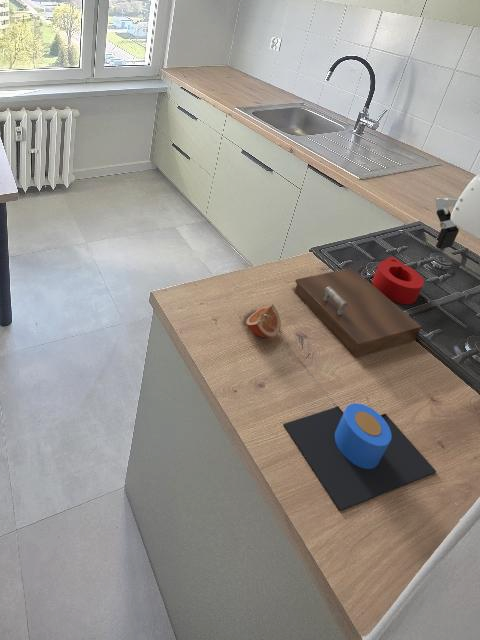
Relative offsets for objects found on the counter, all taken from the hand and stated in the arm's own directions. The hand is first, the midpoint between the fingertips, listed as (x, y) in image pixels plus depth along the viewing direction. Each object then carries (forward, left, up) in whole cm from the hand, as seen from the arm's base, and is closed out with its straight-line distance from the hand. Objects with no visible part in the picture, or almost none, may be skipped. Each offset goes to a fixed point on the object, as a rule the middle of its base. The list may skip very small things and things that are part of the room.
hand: (471, 264), depth 73 cm
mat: (+22, +7, -30) cm, 38 cm away
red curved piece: (-20, -22, -30) cm, 42 cm away
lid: (0, -16, -25) cm, 30 cm away
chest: (0, -16, -30) cm, 34 cm away
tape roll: (+22, +7, -29) cm, 37 cm away
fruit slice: (+23, -18, -30) cm, 42 cm away
